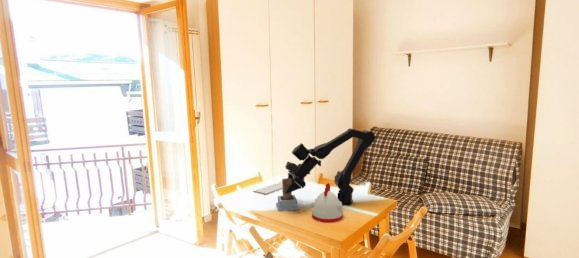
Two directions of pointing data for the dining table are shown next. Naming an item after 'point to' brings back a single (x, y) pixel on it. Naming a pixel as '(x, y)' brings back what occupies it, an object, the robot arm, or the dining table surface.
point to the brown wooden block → (285, 186)
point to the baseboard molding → (269, 189)
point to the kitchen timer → (327, 207)
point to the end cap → (287, 204)
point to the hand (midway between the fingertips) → (284, 190)
